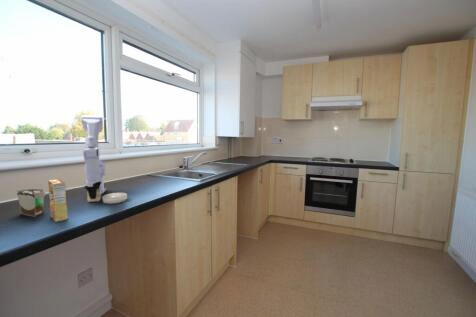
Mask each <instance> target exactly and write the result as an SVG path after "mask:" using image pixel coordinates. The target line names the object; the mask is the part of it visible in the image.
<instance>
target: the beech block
mask: <svg viewBox="0 0 476 317" xmlns="http://www.w3.org/2000/svg"><path fill="white" fill-rule="evenodd" d="M86 195H87V196H86V198H87V203H90V202H91V203H92V202H99V201H100V200H101V198H102V193H101V189H97V192H96V199H90V196H89V193H88V191H87V192H86Z"/></svg>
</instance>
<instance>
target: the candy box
mask: <svg viewBox="0 0 476 317" xmlns="http://www.w3.org/2000/svg"><path fill="white" fill-rule="evenodd" d="M47 182H48V194H49V195H48V196H49V198H48V199H49V208H50V210H49V211H50V217H51V218H52V219H53V221H54V222H56V223H57V222H60V221H66V220H68V206H67V203H68V202H67V190H66V188H67V187H66V182H65V181H63V180H61V179H59V178H58V179H49V180H48V181H47Z"/></svg>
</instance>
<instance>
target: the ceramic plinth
mask: <svg viewBox="0 0 476 317" xmlns="http://www.w3.org/2000/svg"><path fill="white" fill-rule="evenodd" d="M126 201H128V194H127V193H126V192H112V193H108V194H105V195H103V196H102V202H103V203H104V204H110V205H111V204H120V203H123V202H126Z"/></svg>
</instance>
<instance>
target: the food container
mask: <svg viewBox="0 0 476 317" xmlns="http://www.w3.org/2000/svg"><path fill="white" fill-rule="evenodd" d="M46 194H47V193H46V192H45V190H44V189H43V188H28V189H20V190H17V191H16V196H17V198H18V203H19V204H18V206H19V210H20V215H24V216H29V217H34V218H36V217H39V216H42V215H43V214H44V208H45V206H44V204H45V203H44V202H45V198H44V197H45V196H46Z"/></svg>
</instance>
